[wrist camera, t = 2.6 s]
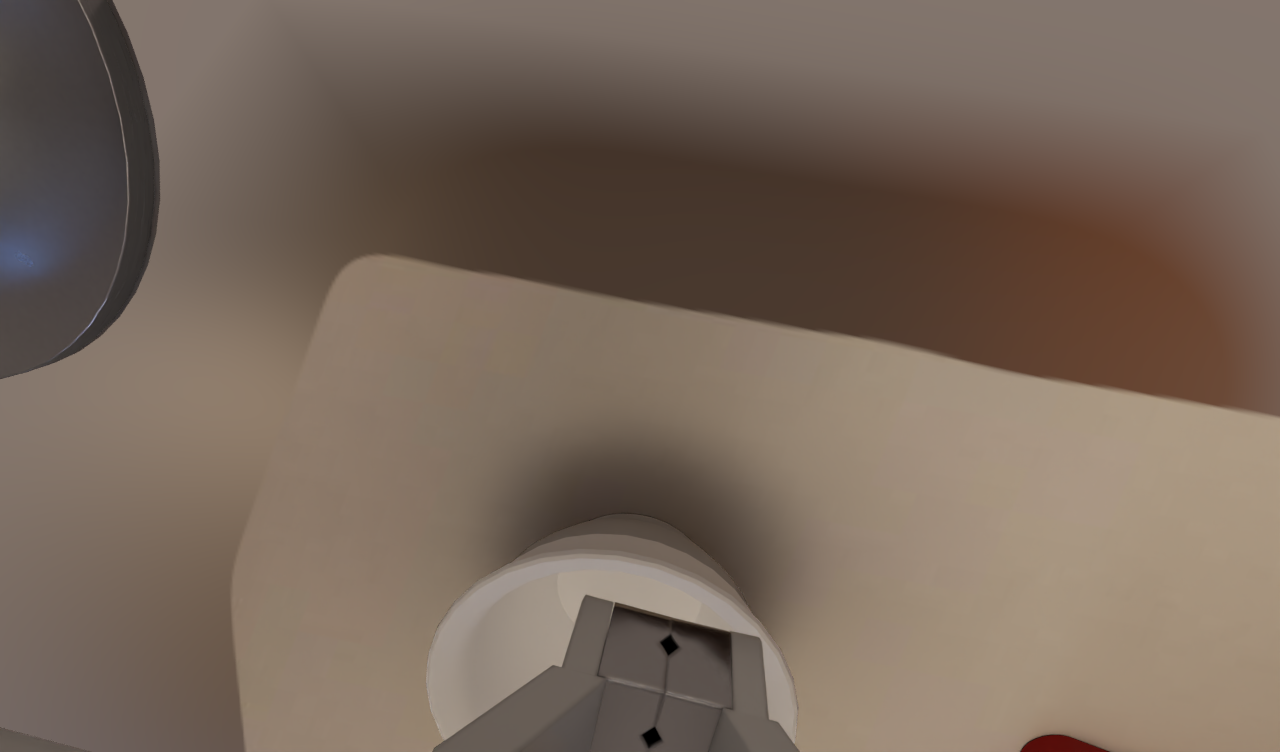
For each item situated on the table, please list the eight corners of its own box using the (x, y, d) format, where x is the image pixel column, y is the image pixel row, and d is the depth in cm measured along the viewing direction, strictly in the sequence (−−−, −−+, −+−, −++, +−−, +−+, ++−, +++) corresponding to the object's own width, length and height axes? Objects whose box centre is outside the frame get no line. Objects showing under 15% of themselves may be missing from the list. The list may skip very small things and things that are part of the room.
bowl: (444, 489, 34) (362, 596, 26) (734, 418, 31) (742, 514, 23) (548, 711, 39) (505, 859, 31) (809, 670, 35) (836, 823, 27)
